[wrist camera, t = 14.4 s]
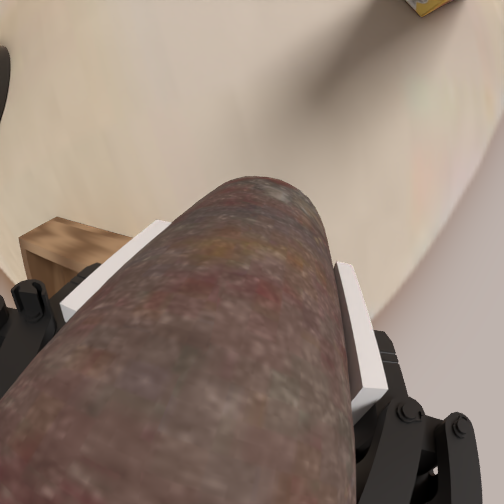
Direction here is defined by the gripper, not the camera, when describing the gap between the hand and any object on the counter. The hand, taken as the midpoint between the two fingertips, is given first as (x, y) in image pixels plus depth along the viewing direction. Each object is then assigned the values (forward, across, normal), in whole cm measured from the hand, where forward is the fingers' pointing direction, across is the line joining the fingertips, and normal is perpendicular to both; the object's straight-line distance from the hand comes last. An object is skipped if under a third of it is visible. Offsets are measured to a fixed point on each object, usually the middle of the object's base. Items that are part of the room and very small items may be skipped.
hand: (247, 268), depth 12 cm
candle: (+4, 0, 0) cm, 4 cm away
